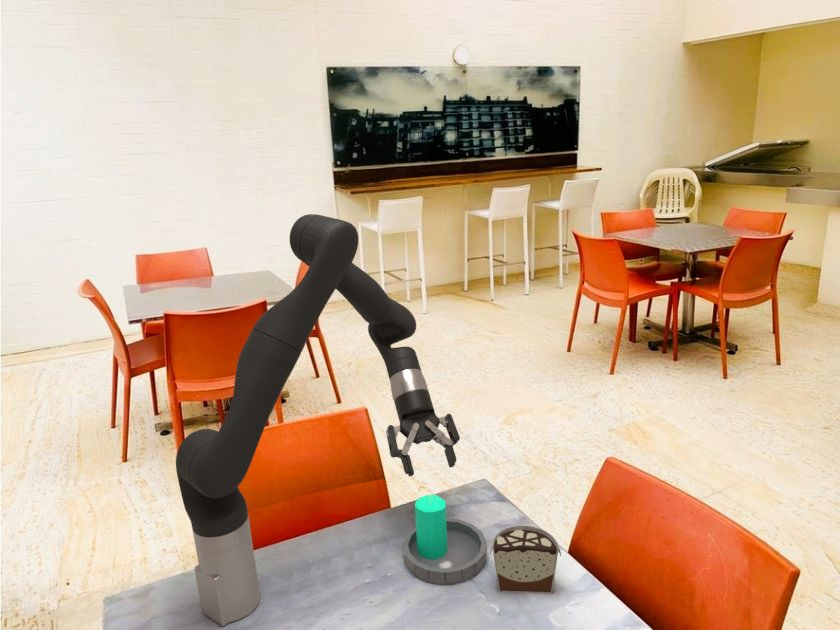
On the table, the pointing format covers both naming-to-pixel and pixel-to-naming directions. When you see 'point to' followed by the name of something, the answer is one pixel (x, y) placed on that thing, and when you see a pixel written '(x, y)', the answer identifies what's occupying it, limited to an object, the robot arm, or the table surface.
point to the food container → (525, 560)
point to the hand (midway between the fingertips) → (432, 470)
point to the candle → (431, 526)
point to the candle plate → (449, 555)
